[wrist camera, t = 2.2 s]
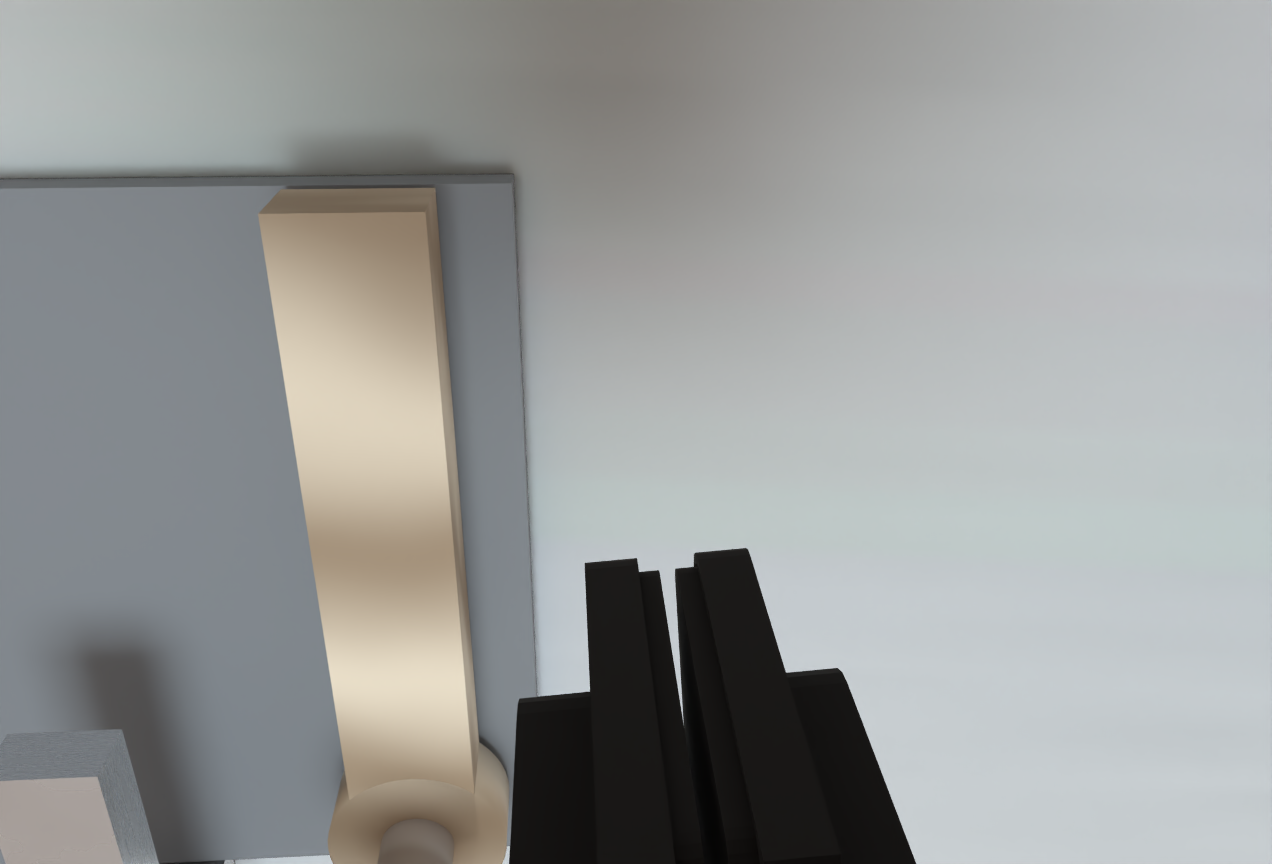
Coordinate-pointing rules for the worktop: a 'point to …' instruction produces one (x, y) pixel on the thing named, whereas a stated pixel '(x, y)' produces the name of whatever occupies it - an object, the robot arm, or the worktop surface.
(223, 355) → the base plate
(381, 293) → the link
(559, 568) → the worktop surface
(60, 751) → the keeper
